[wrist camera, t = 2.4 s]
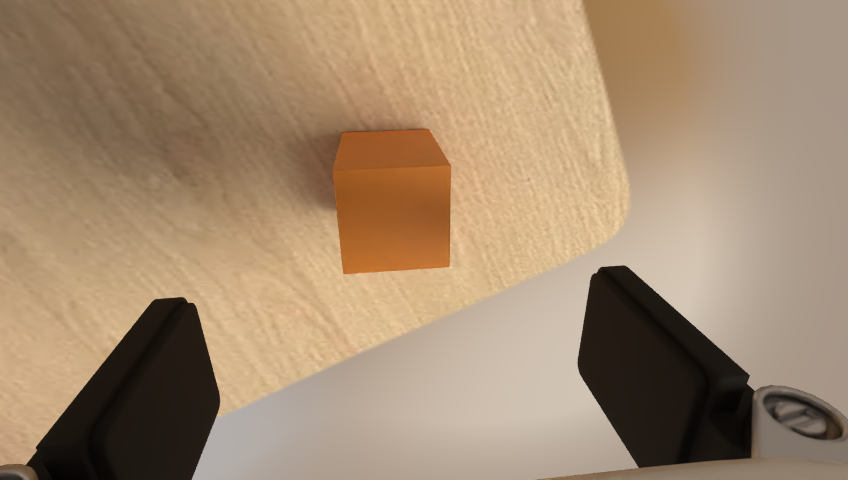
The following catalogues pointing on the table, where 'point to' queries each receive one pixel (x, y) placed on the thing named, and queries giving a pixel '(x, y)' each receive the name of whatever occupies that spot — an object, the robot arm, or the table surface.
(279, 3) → the table surface
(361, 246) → the orange block
